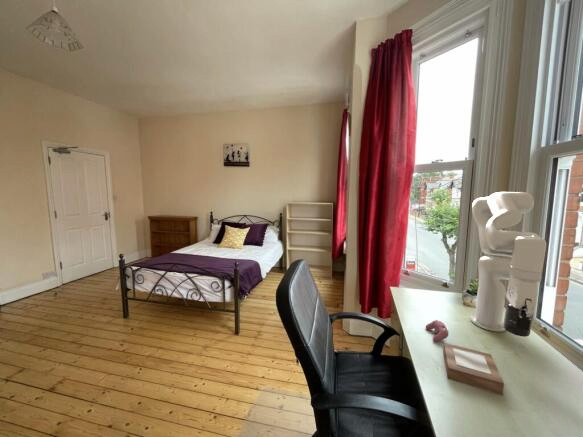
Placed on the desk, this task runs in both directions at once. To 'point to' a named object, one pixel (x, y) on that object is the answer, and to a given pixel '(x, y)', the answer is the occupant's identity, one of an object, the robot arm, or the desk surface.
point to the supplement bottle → (511, 321)
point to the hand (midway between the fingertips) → (517, 322)
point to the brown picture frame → (472, 368)
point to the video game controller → (438, 330)
